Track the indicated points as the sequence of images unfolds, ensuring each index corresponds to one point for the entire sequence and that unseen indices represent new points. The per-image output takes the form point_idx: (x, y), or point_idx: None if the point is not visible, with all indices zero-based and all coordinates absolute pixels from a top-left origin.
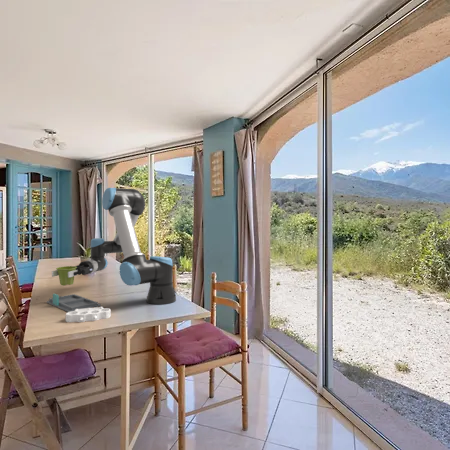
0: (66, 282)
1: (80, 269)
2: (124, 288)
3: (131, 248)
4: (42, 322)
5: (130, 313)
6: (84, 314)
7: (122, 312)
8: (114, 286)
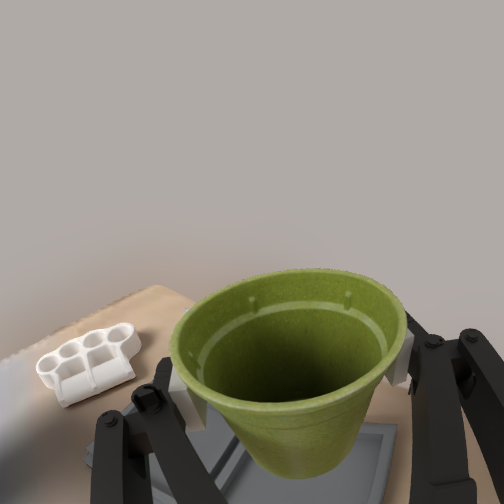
0: (261, 396)
1: (136, 406)
2: None
3: None
4: None
5: (5, 400)
6: (87, 333)
7: (19, 406)
8: None
